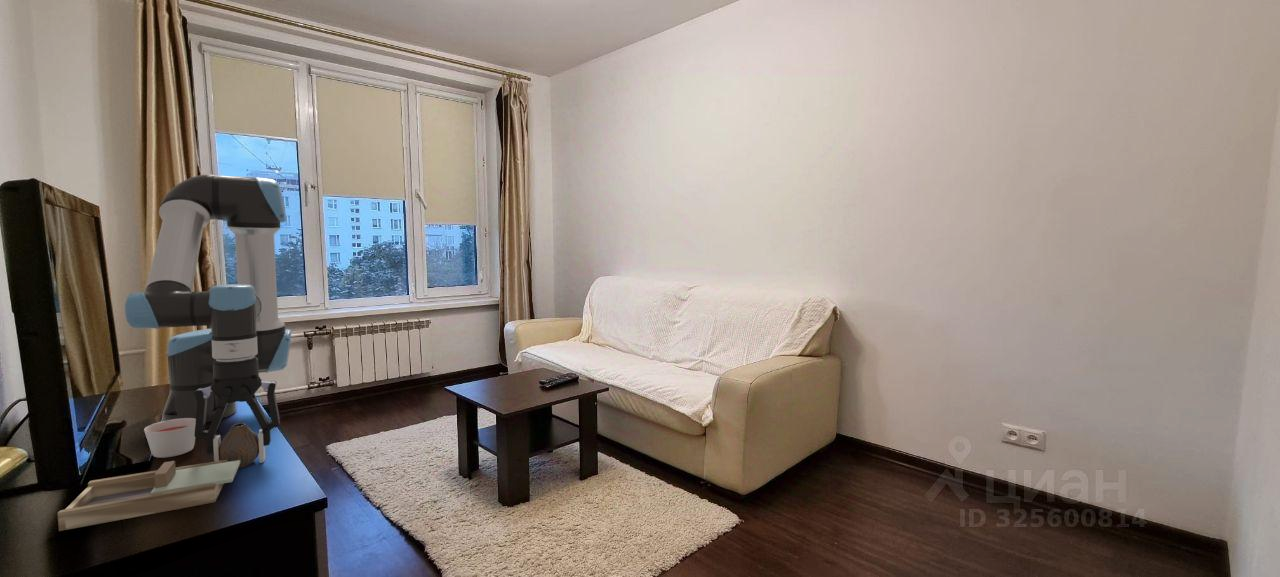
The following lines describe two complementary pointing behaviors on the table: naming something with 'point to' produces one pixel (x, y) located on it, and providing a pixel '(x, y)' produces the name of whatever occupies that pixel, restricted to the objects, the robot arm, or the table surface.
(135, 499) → the wooden box
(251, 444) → the vase
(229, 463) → the lid
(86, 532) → the table surface
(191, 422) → the candle
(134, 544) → the table surface
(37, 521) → the table surface
